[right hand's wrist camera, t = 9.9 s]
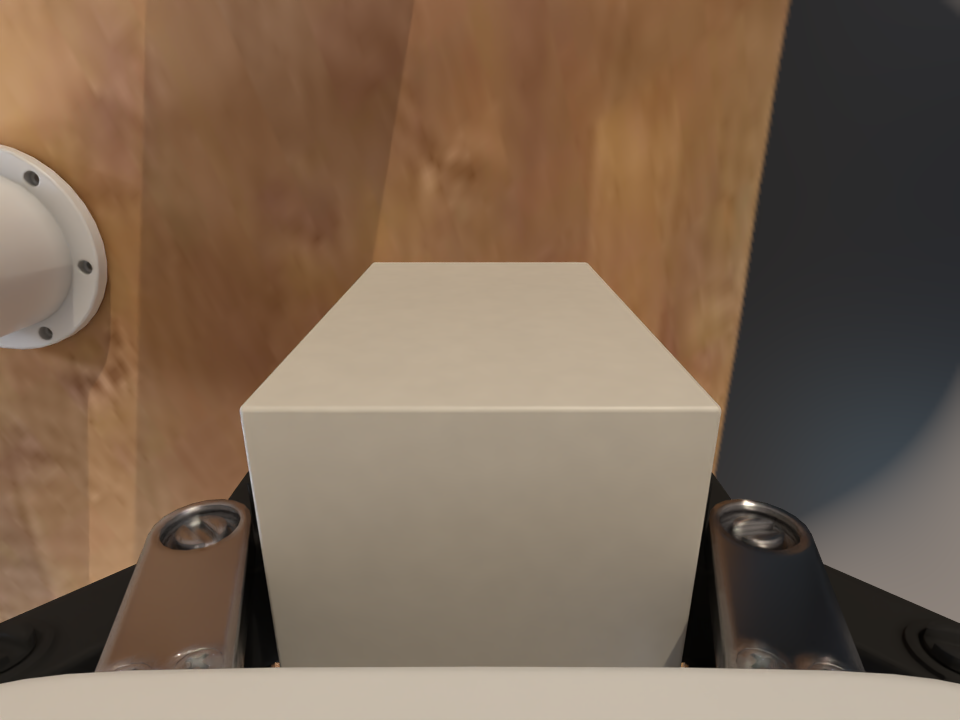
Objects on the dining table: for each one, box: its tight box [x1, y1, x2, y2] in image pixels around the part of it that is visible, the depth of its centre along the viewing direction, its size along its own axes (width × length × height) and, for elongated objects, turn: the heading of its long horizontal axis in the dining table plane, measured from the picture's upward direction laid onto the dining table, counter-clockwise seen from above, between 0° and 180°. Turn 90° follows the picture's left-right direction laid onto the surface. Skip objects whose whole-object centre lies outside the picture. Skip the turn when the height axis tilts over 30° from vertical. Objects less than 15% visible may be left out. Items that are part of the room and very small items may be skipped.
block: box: [240, 262, 721, 668], centre depth 11 cm, size 5×7×8 cm
